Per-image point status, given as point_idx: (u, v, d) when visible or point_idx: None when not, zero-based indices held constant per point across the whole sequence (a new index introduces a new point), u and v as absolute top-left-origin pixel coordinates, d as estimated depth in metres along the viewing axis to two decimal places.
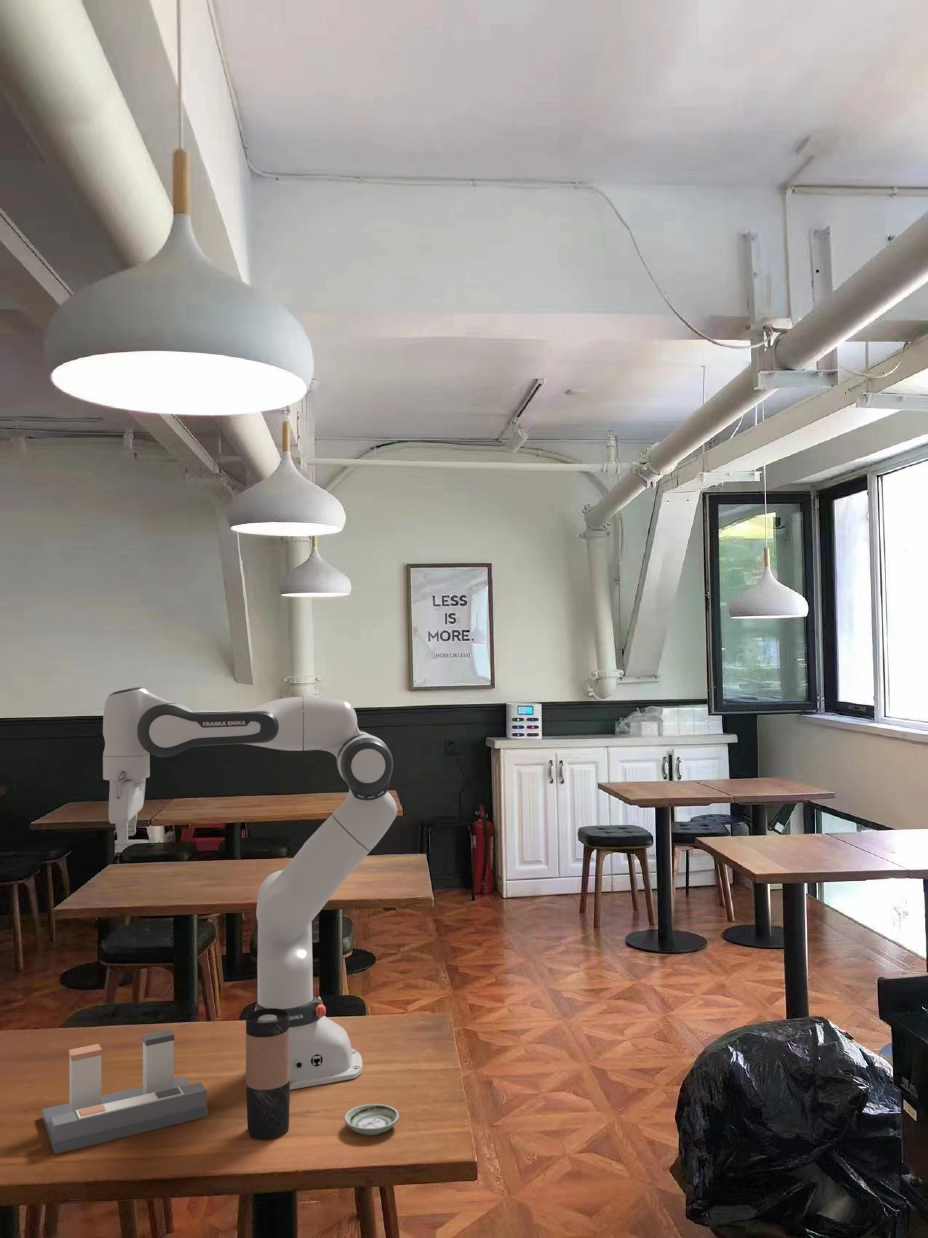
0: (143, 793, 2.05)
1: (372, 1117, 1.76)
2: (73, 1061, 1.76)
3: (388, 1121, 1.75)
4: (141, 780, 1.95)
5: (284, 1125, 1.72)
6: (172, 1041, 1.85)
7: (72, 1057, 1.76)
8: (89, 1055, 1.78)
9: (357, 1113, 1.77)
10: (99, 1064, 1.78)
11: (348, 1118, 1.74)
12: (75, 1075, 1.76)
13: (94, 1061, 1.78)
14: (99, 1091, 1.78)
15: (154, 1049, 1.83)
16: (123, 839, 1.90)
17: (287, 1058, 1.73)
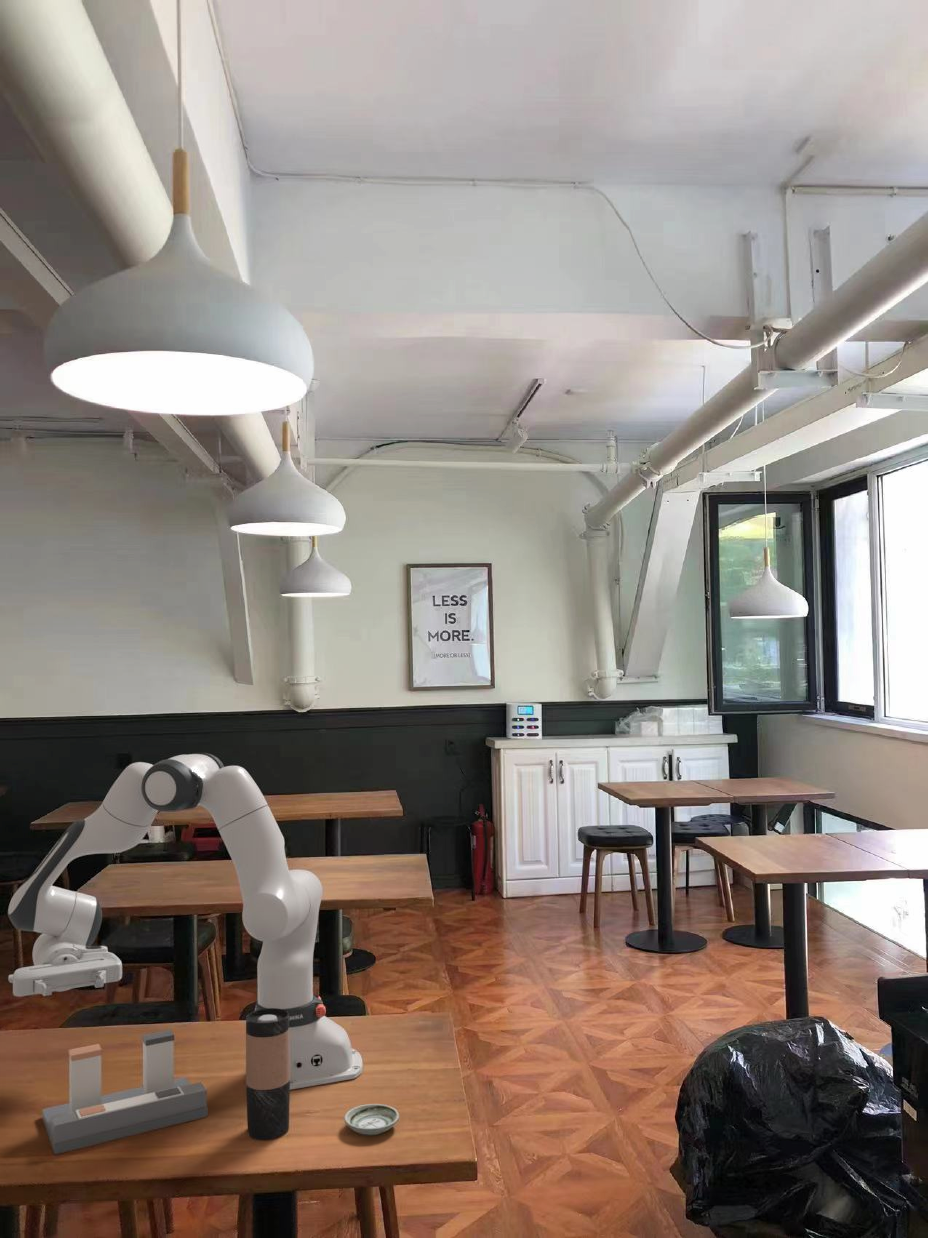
0: (112, 958, 2.01)
1: (372, 1117, 1.76)
2: (73, 1061, 1.76)
3: (388, 1121, 1.75)
4: (59, 956, 1.99)
5: (284, 1125, 1.72)
6: (172, 1041, 1.85)
7: (72, 1057, 1.76)
8: (89, 1055, 1.78)
9: (357, 1113, 1.77)
10: (99, 1064, 1.78)
11: (348, 1118, 1.74)
12: (75, 1075, 1.76)
13: (94, 1061, 1.78)
14: (99, 1091, 1.78)
15: (154, 1049, 1.83)
16: (43, 989, 1.87)
17: (287, 1058, 1.73)
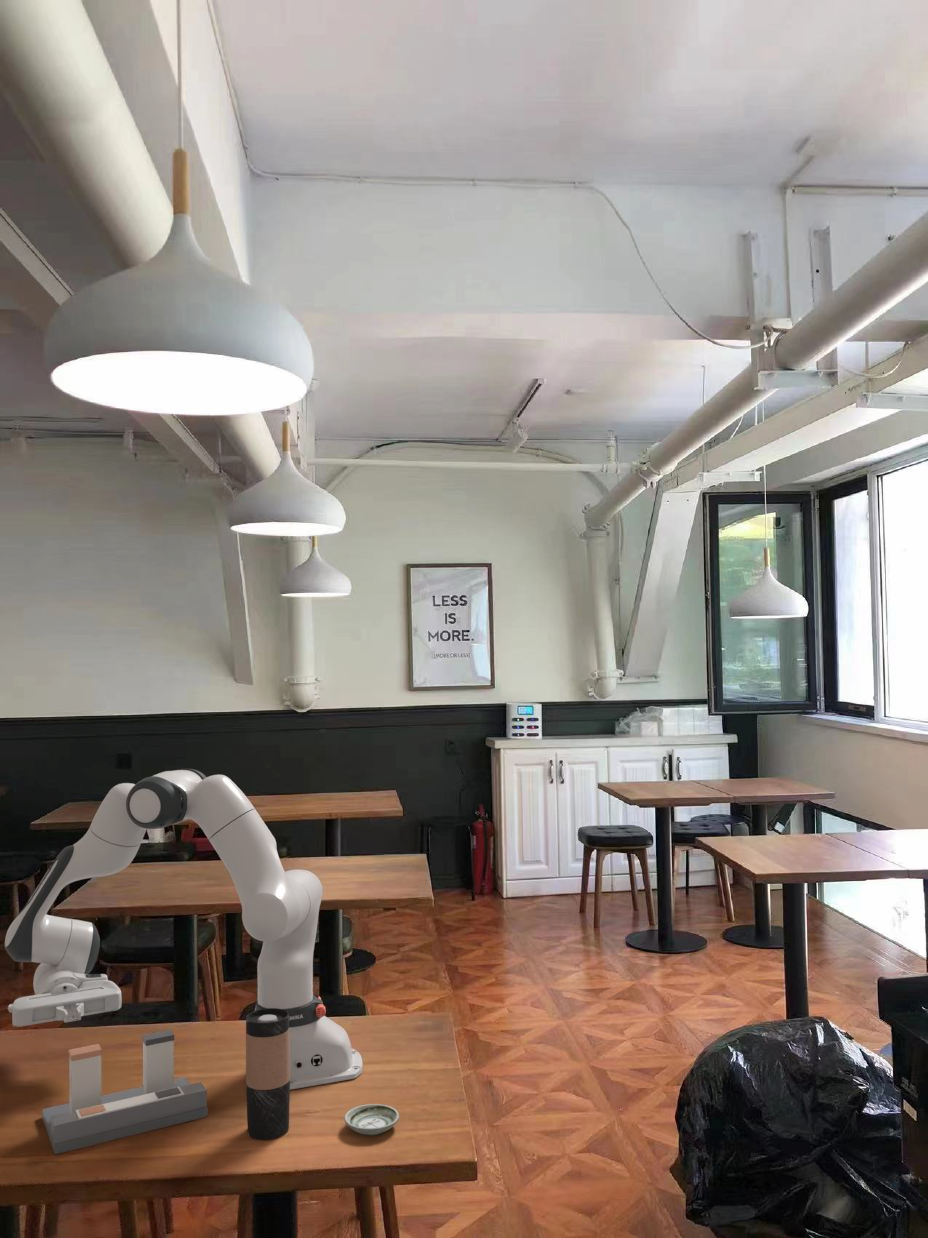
0: (112, 987, 2.01)
1: (372, 1117, 1.76)
2: (73, 1061, 1.76)
3: (388, 1121, 1.75)
4: (59, 985, 1.99)
5: (284, 1125, 1.72)
6: (172, 1041, 1.85)
7: (72, 1057, 1.76)
8: (89, 1055, 1.78)
9: (358, 1113, 1.77)
10: (99, 1064, 1.78)
11: (348, 1118, 1.74)
12: (75, 1075, 1.76)
13: (94, 1061, 1.78)
14: (99, 1091, 1.78)
15: (154, 1049, 1.83)
16: (64, 1015, 1.89)
17: (287, 1058, 1.73)
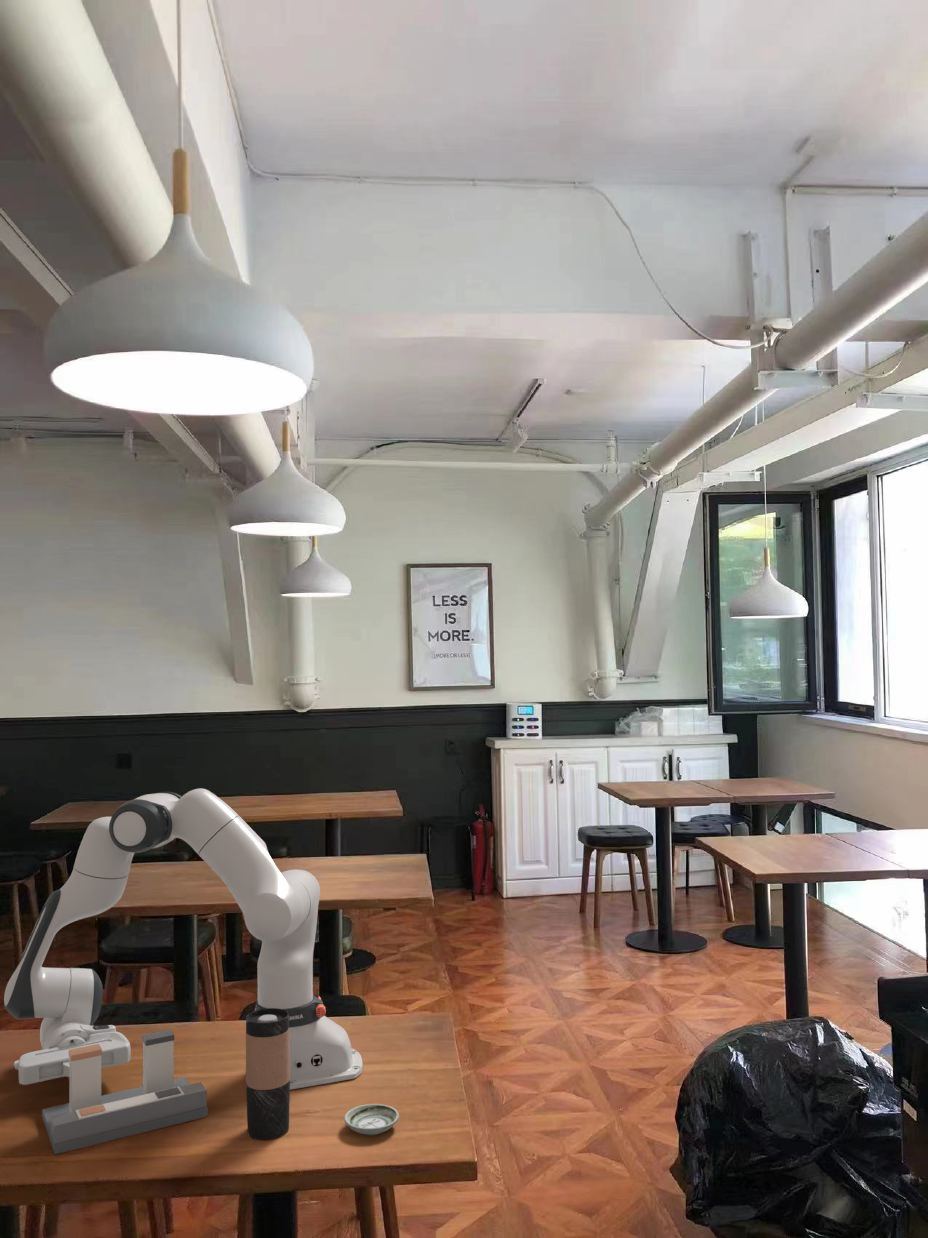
0: (120, 1039, 1.95)
1: (372, 1117, 1.76)
2: (73, 1061, 1.76)
3: (388, 1121, 1.75)
4: (66, 1038, 1.94)
5: (284, 1125, 1.72)
6: (172, 1041, 1.85)
7: (72, 1057, 1.76)
8: (89, 1055, 1.78)
9: (358, 1113, 1.77)
10: (99, 1064, 1.78)
11: (348, 1118, 1.74)
12: (75, 1075, 1.76)
13: (94, 1061, 1.78)
14: (99, 1091, 1.78)
15: (154, 1049, 1.83)
16: None
17: (287, 1058, 1.73)
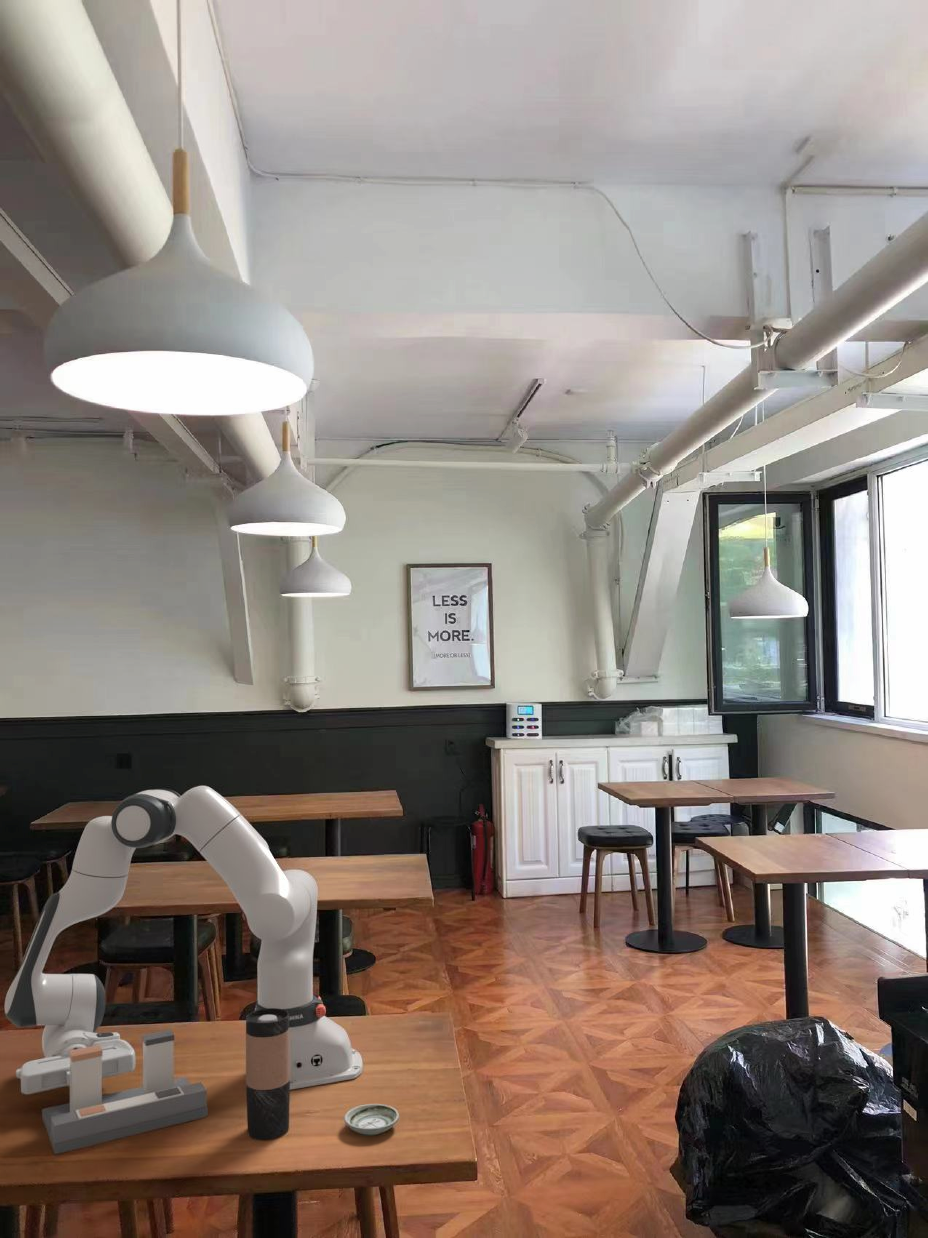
0: (125, 1047, 1.91)
1: (372, 1117, 1.76)
2: (73, 1062, 1.76)
3: (388, 1121, 1.75)
4: (69, 1046, 1.89)
5: (284, 1125, 1.72)
6: (172, 1041, 1.85)
7: (72, 1058, 1.76)
8: (89, 1056, 1.77)
9: (358, 1113, 1.77)
10: (99, 1065, 1.78)
11: (348, 1118, 1.74)
12: (76, 1076, 1.76)
13: (95, 1061, 1.78)
14: (99, 1092, 1.78)
15: (154, 1049, 1.83)
16: None
17: (287, 1058, 1.73)
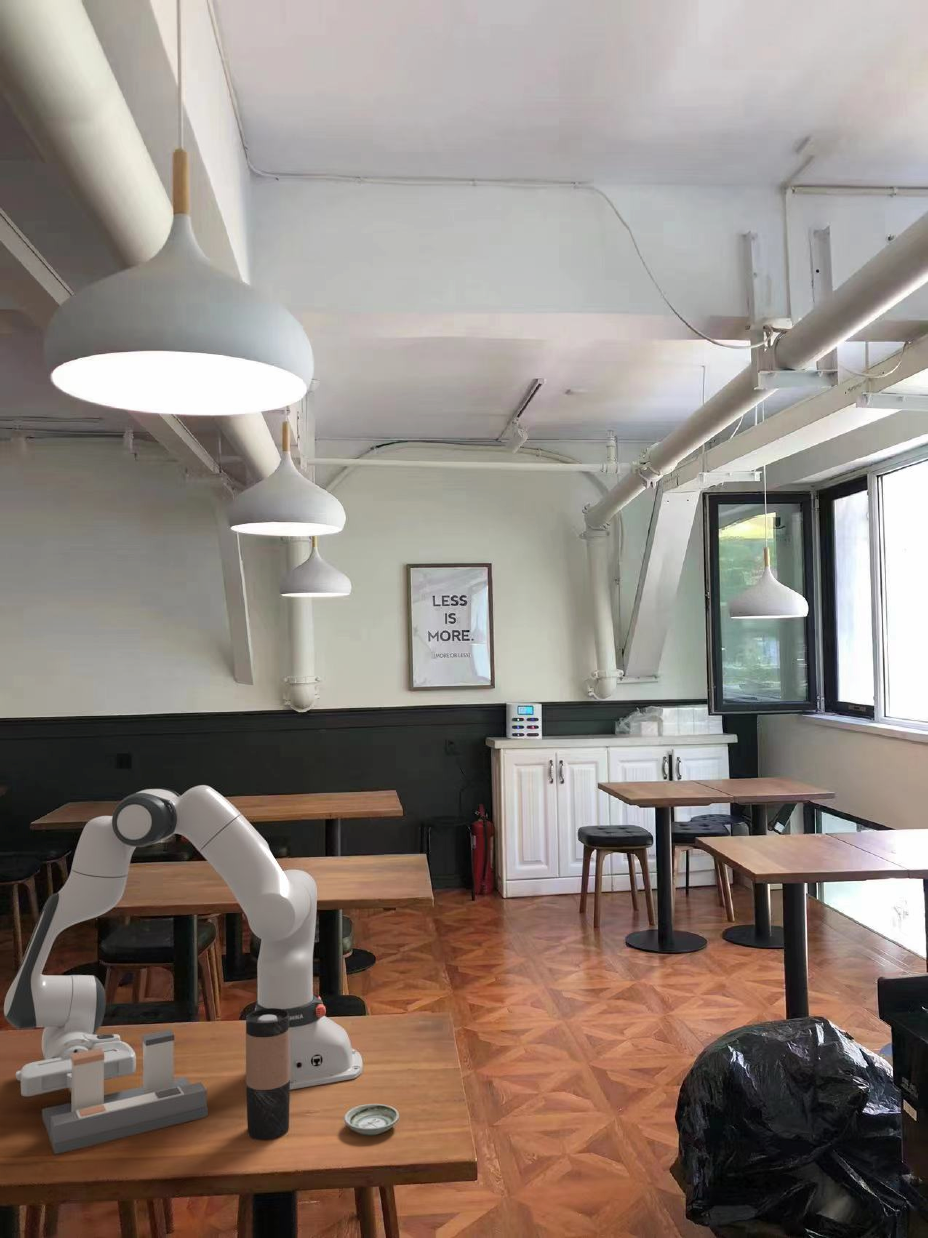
0: (125, 1049, 1.90)
1: (372, 1117, 1.76)
2: (75, 1066, 1.74)
3: (388, 1121, 1.75)
4: (69, 1048, 1.88)
5: (284, 1125, 1.72)
6: (172, 1041, 1.85)
7: (74, 1062, 1.74)
8: (91, 1059, 1.76)
9: (358, 1113, 1.77)
10: (101, 1069, 1.76)
11: (348, 1118, 1.74)
12: (78, 1080, 1.74)
13: (97, 1065, 1.76)
14: (101, 1096, 1.76)
15: (154, 1049, 1.83)
16: None
17: (287, 1058, 1.73)
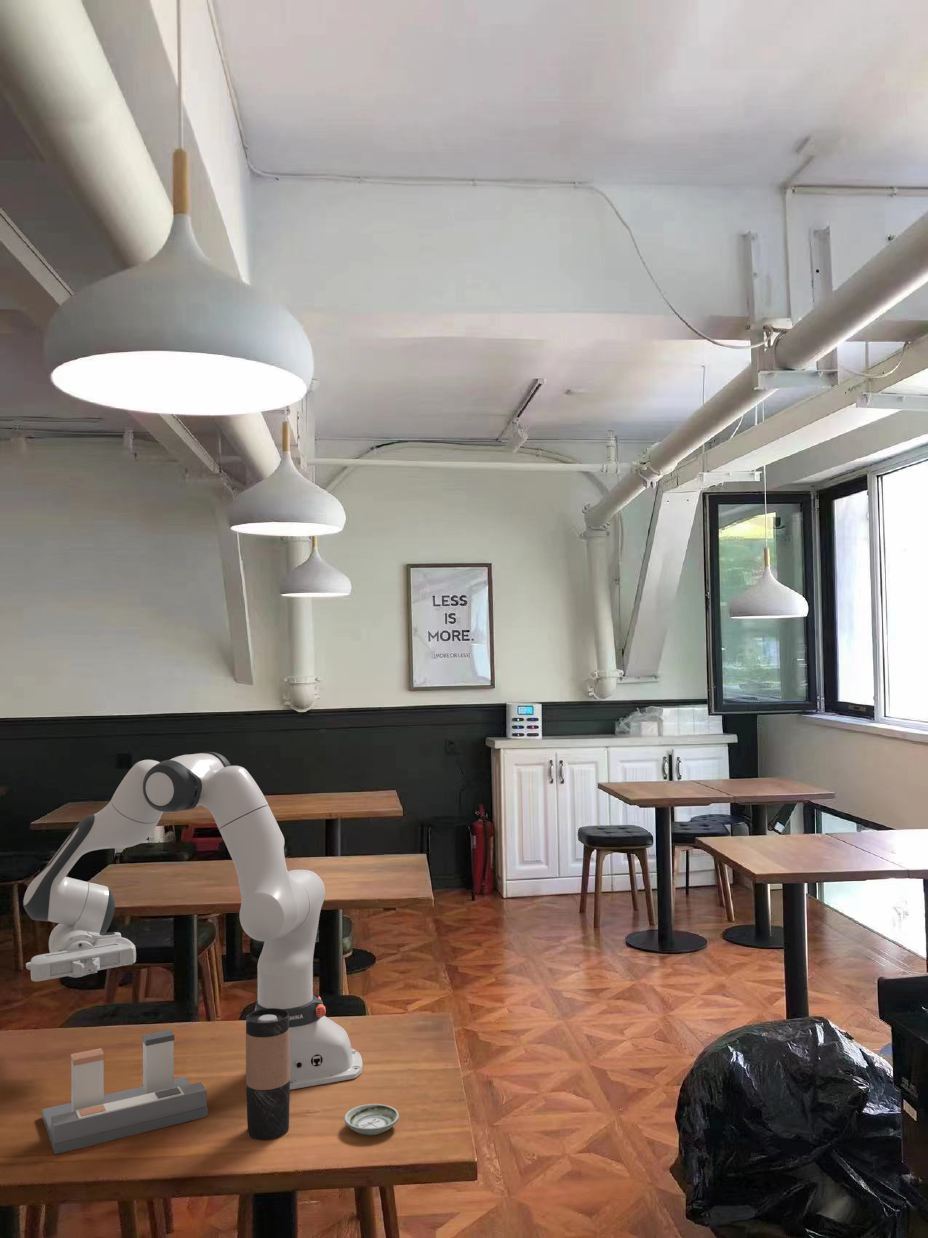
0: (126, 943, 2.07)
1: (372, 1117, 1.76)
2: (75, 1066, 1.74)
3: (388, 1121, 1.74)
4: (74, 942, 2.05)
5: (284, 1125, 1.72)
6: (172, 1041, 1.85)
7: (74, 1062, 1.74)
8: (91, 1059, 1.76)
9: (358, 1113, 1.77)
10: (101, 1069, 1.76)
11: (348, 1118, 1.74)
12: (78, 1080, 1.74)
13: (97, 1065, 1.76)
14: (101, 1096, 1.76)
15: (154, 1049, 1.83)
16: (81, 969, 1.95)
17: (287, 1058, 1.73)
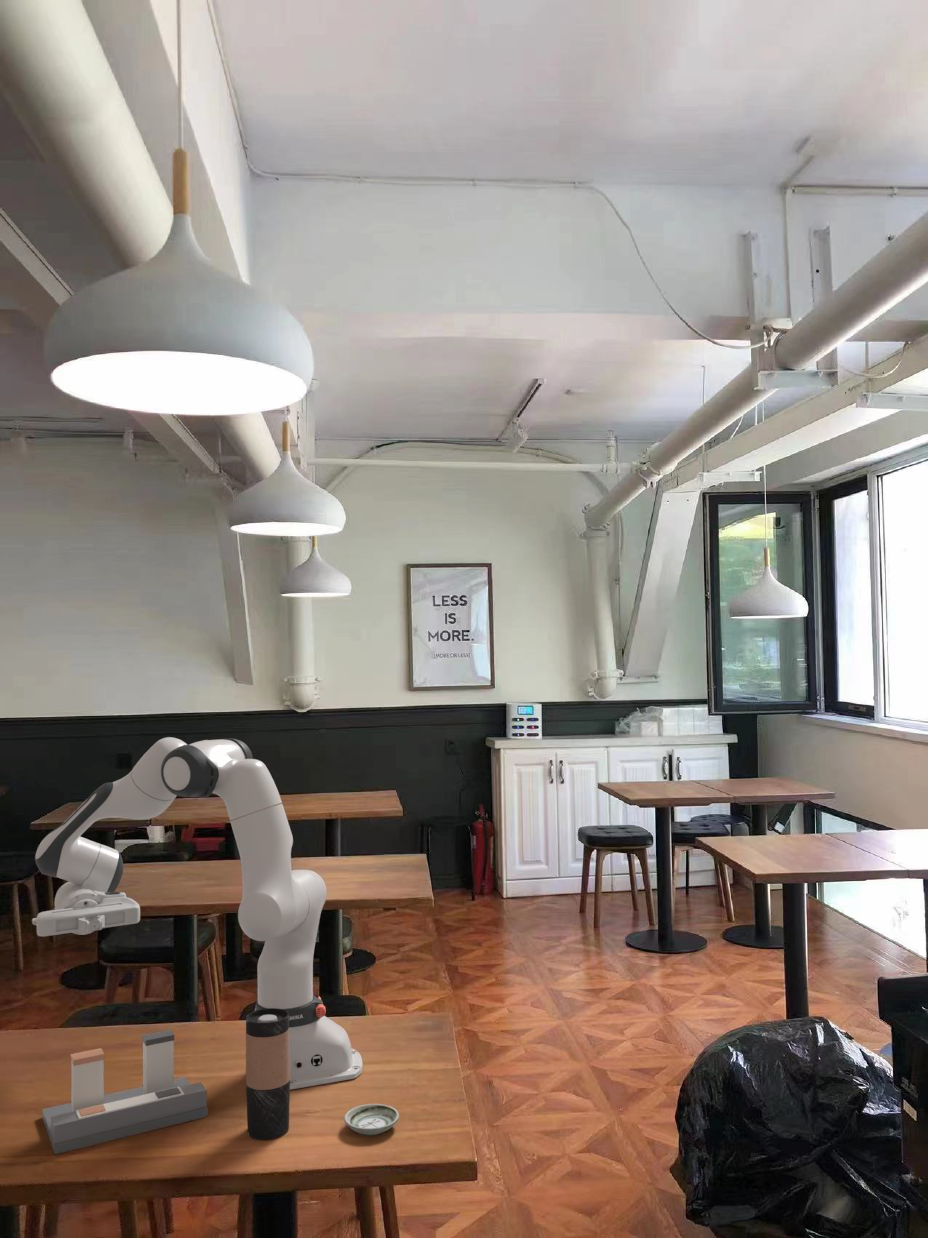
0: (131, 902, 2.10)
1: (372, 1117, 1.76)
2: (75, 1066, 1.74)
3: (388, 1121, 1.74)
4: (80, 900, 2.08)
5: (284, 1125, 1.72)
6: (172, 1041, 1.85)
7: (74, 1062, 1.74)
8: (91, 1059, 1.76)
9: (358, 1113, 1.77)
10: (101, 1069, 1.76)
11: (348, 1118, 1.74)
12: (78, 1080, 1.74)
13: (97, 1065, 1.76)
14: (101, 1096, 1.76)
15: (154, 1049, 1.83)
16: (86, 925, 1.98)
17: (287, 1058, 1.73)
